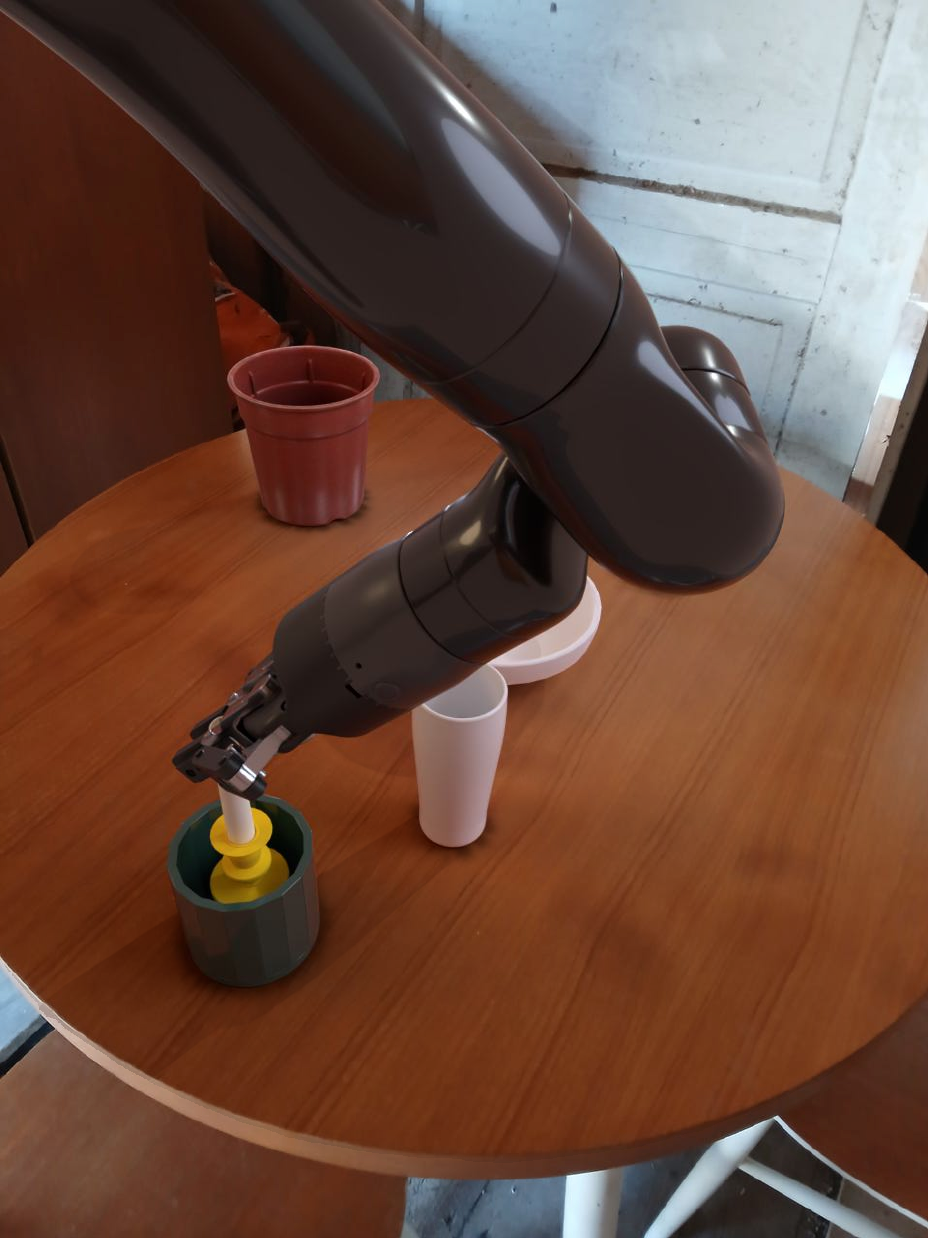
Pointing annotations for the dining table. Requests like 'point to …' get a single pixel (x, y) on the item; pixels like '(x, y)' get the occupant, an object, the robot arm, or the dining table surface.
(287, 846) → the cup
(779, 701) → the dining table surface
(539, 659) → the bowl
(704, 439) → the robot arm
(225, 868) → the candle
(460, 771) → the drinking glass
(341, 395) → the flower pot
